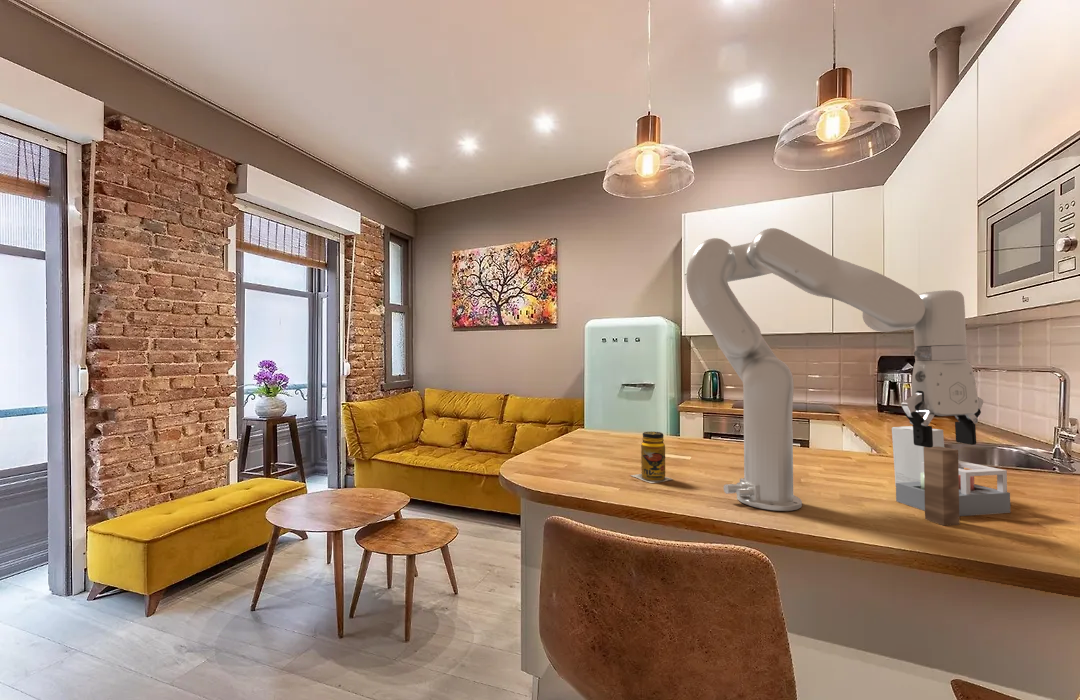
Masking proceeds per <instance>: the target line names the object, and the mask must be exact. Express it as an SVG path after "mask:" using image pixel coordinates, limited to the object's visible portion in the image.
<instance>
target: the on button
mask: <svg viewBox="0 0 1080 700" xmlns="http://www.w3.org/2000/svg"><path fill="white" fill-rule="evenodd" d="M921 489H923V490H924V472H922V473H921Z"/></svg>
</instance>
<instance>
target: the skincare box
mask: <svg viewBox="0 0 1080 700" xmlns="http://www.w3.org/2000/svg"><path fill="white" fill-rule="evenodd" d="M932 434H933V447H937V446H939V447H945V438H944V437H945V436H944V435H945V434H944V429H940V428H938V429H937V428H932ZM891 437H892V438H891V439H892V453H893V467H894V482H895V487H896V483H903V482H921V462H924V447H923V446H917V445H914V439H913V425H909V426H906V425H905V426H903V425H902V426H893V427H891Z"/></svg>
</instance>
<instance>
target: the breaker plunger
mask: <svg viewBox="0 0 1080 700" xmlns="http://www.w3.org/2000/svg"><path fill="white" fill-rule="evenodd" d="M974 484H975V476H970V491H974ZM959 489H960V490H961V475H959Z"/></svg>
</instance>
